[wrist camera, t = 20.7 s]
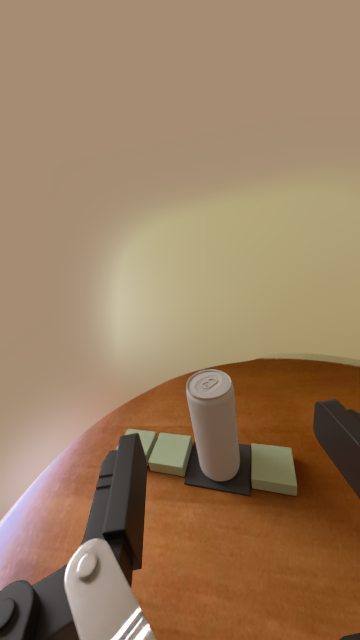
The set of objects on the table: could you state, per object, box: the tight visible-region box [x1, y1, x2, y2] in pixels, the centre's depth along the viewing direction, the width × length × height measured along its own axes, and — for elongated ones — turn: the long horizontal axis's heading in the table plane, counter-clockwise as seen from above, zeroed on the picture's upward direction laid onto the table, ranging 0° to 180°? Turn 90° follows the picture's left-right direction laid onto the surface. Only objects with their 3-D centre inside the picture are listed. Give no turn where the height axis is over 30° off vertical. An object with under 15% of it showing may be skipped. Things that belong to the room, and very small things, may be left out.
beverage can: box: [186, 370, 240, 481], centre depth 26 cm, size 5×5×12 cm
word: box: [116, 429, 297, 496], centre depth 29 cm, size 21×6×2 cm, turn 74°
